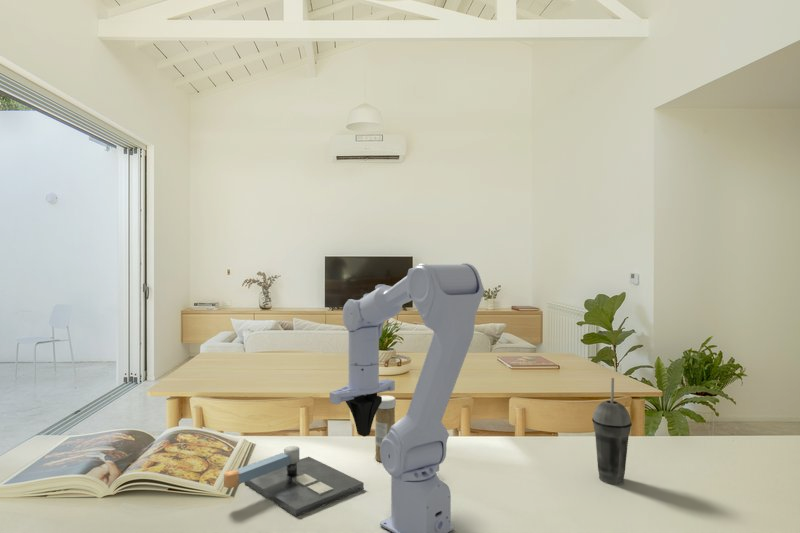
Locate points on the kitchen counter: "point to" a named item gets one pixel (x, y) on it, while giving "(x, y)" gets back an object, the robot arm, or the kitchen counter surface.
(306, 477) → the board
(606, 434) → the beverage cup
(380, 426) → the sprinkles bottle
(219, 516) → the kitchen counter surface
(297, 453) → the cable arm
